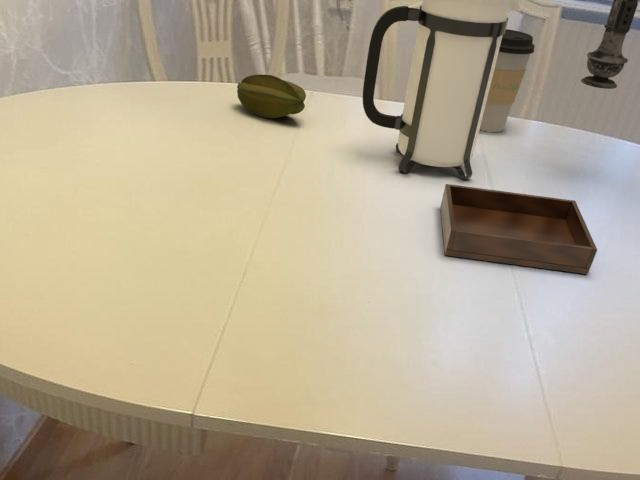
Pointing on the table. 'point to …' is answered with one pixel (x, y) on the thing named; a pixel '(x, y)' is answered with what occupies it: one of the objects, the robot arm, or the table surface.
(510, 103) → the coffee cup
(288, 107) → the fruit
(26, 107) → the table surface
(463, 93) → the coffee press
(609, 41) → the salt shaker
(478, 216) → the tray
